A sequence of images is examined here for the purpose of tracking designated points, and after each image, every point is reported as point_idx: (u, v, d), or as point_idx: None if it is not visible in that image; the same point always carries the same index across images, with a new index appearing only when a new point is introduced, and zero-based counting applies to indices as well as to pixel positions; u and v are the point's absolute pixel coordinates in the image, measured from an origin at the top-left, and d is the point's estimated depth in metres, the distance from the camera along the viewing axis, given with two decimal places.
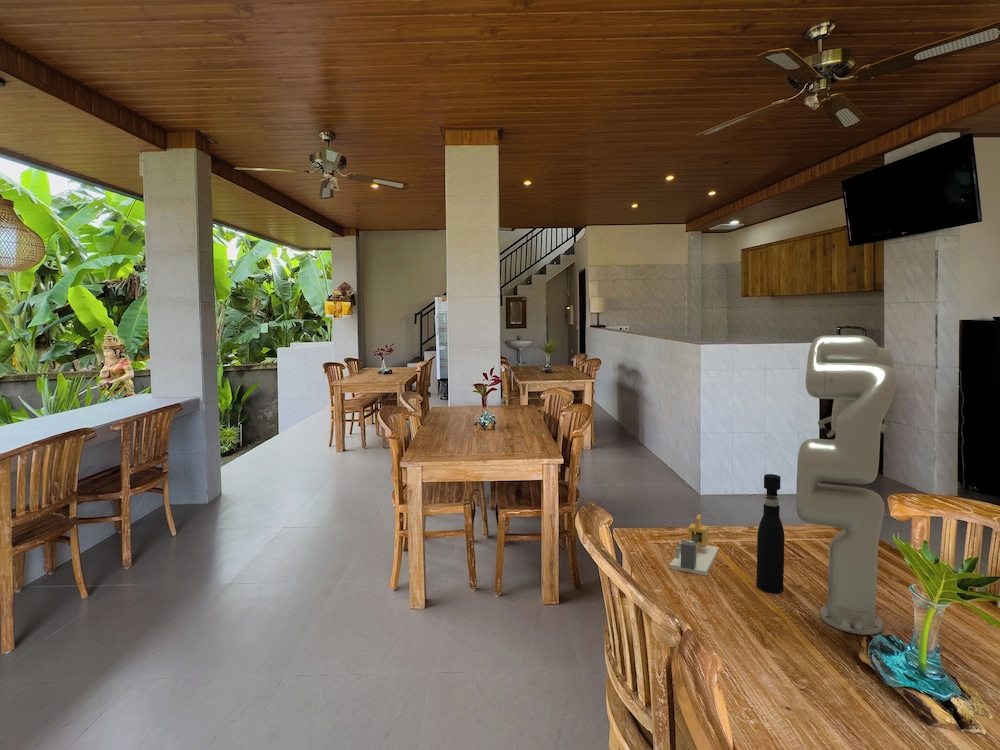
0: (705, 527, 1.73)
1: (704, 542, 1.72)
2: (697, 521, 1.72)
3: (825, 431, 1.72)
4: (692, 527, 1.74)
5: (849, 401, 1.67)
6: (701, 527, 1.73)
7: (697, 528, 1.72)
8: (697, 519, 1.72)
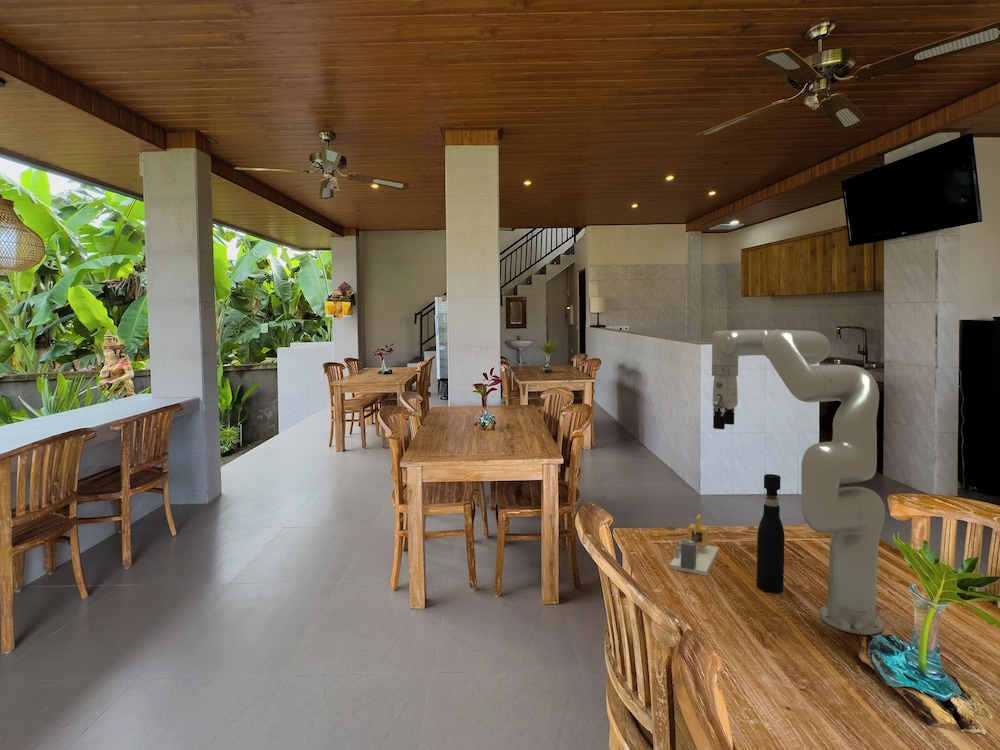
0: (705, 527, 1.73)
1: (704, 542, 1.72)
2: (697, 521, 1.72)
3: (720, 411, 1.72)
4: (692, 527, 1.74)
5: (733, 377, 1.74)
6: (701, 527, 1.73)
7: (697, 528, 1.72)
8: (697, 519, 1.72)
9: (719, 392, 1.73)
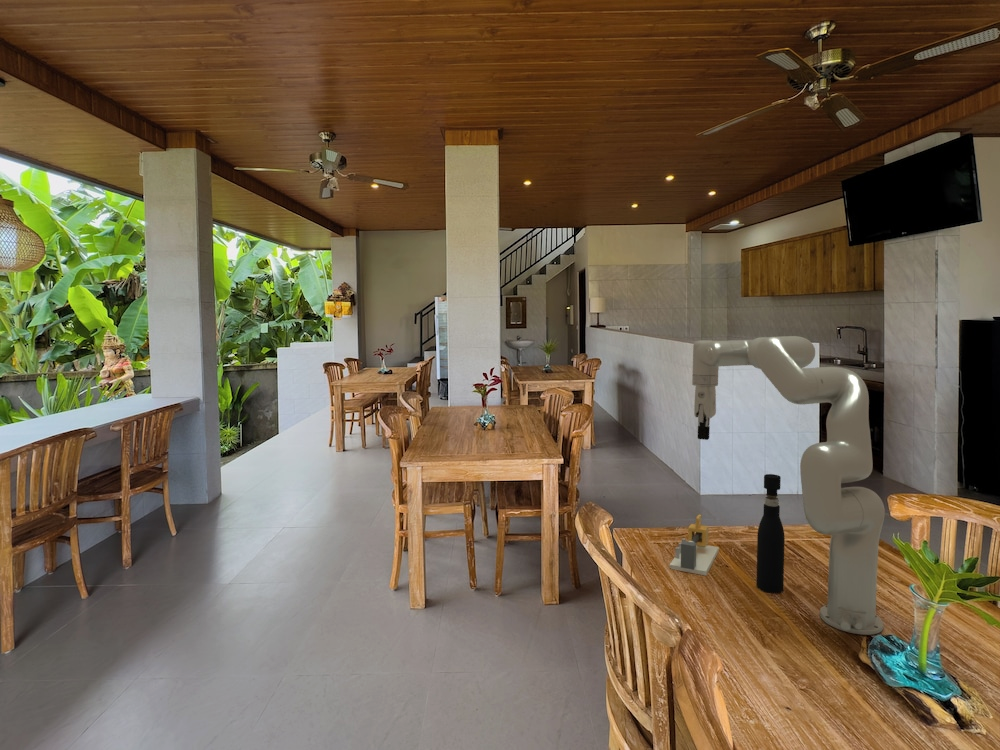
0: (705, 527, 1.73)
1: (704, 542, 1.72)
2: (697, 521, 1.72)
3: (705, 422, 1.77)
4: (692, 527, 1.74)
5: (713, 387, 1.76)
6: (701, 527, 1.73)
7: (697, 528, 1.72)
8: (697, 519, 1.72)
9: (701, 402, 1.74)
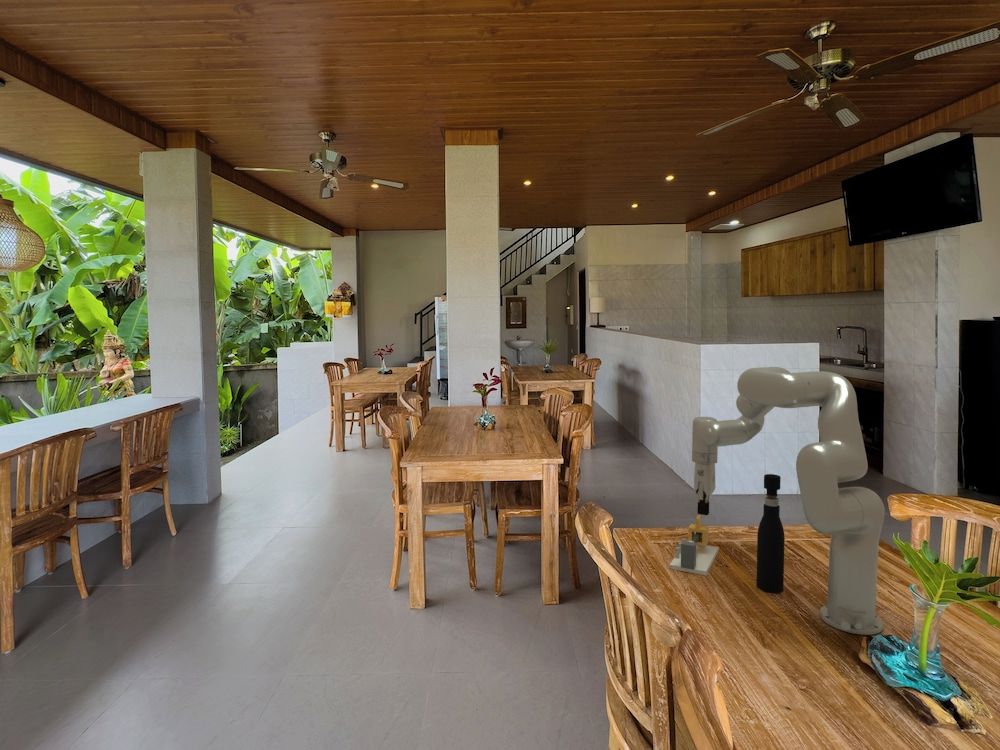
0: (705, 527, 1.73)
1: (704, 542, 1.72)
2: (697, 521, 1.72)
3: (704, 498, 1.79)
4: (692, 527, 1.74)
5: (713, 464, 1.78)
6: (701, 527, 1.73)
7: (697, 528, 1.72)
8: (697, 519, 1.72)
9: (701, 479, 1.76)
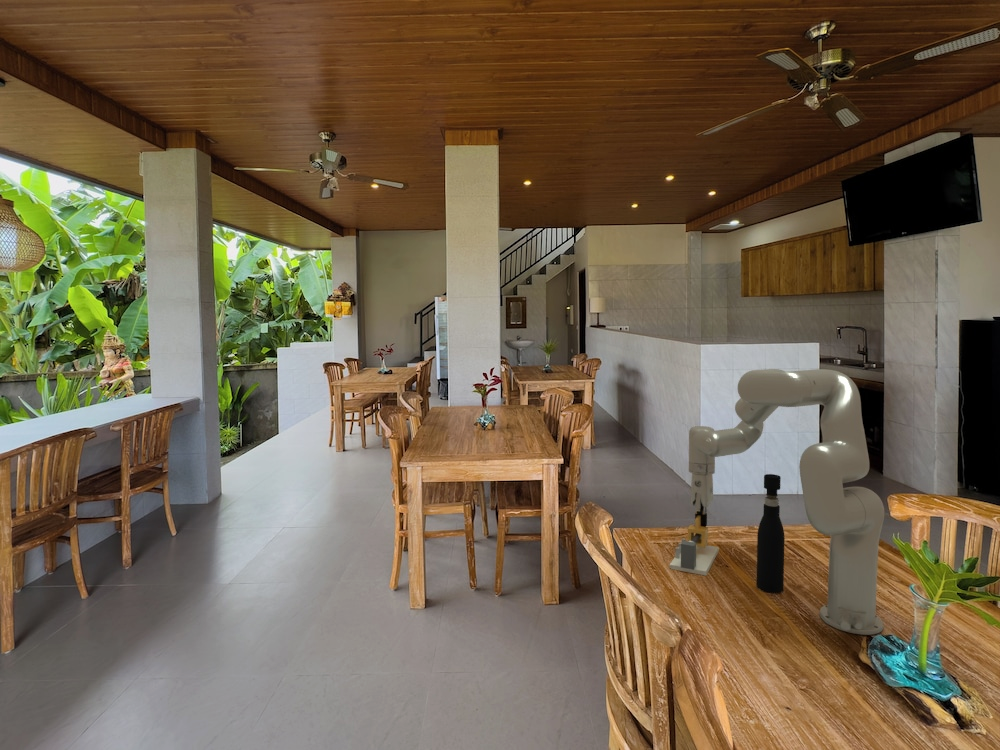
0: (704, 528, 1.72)
1: (703, 543, 1.71)
2: (696, 522, 1.71)
3: None
4: (691, 528, 1.73)
5: (710, 474, 1.74)
6: (700, 528, 1.73)
7: (696, 529, 1.71)
8: (696, 520, 1.71)
9: (698, 490, 1.72)
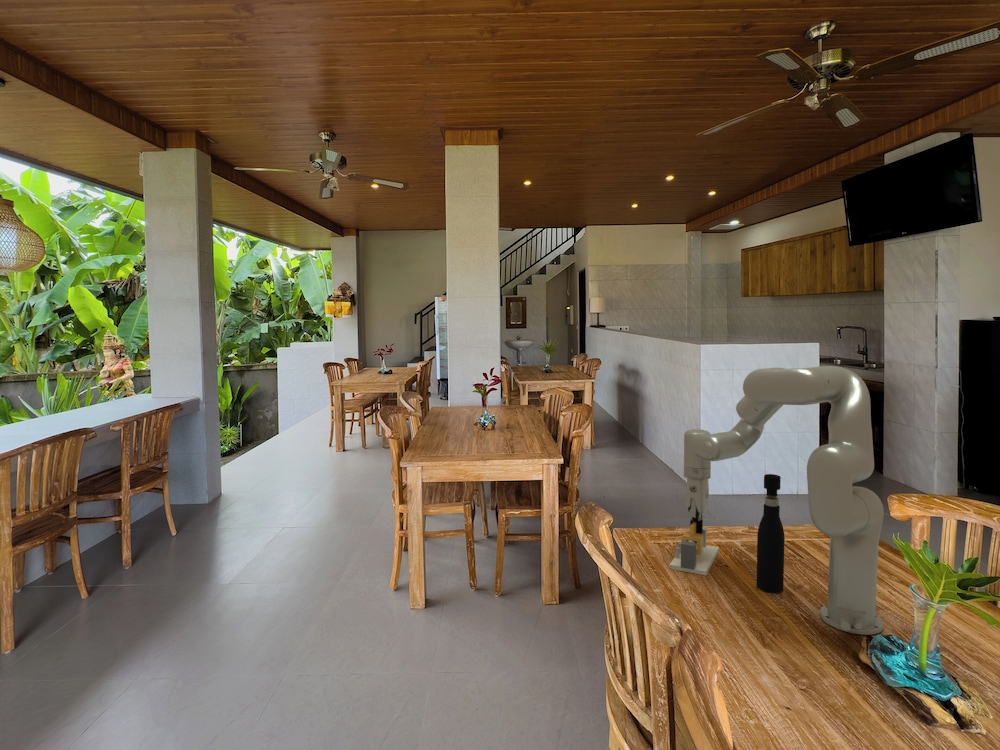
0: (700, 535, 1.67)
1: (699, 551, 1.65)
2: (691, 529, 1.65)
3: (697, 516, 1.69)
4: (686, 535, 1.67)
5: (706, 479, 1.68)
6: (696, 535, 1.67)
7: (691, 536, 1.66)
8: (691, 527, 1.65)
9: (693, 496, 1.66)
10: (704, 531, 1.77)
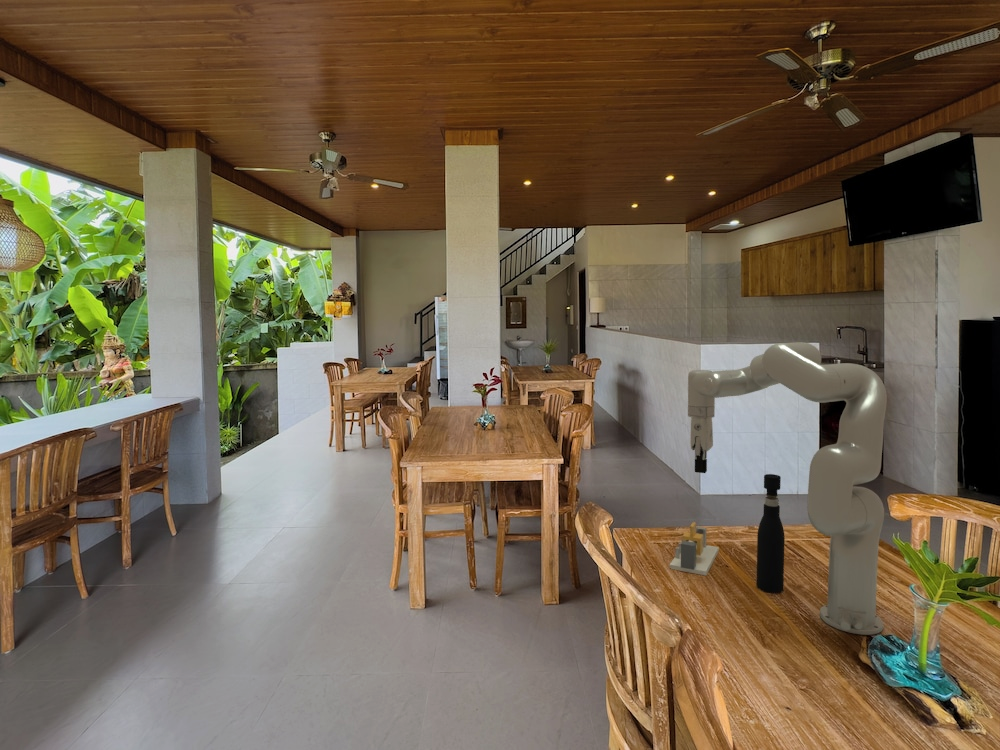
0: (700, 535, 1.67)
1: (699, 551, 1.65)
2: (691, 529, 1.65)
3: (702, 455, 1.71)
4: (686, 535, 1.67)
5: (710, 418, 1.70)
6: (696, 535, 1.67)
7: (691, 536, 1.66)
8: (691, 527, 1.65)
9: (697, 434, 1.68)
10: (704, 531, 1.77)
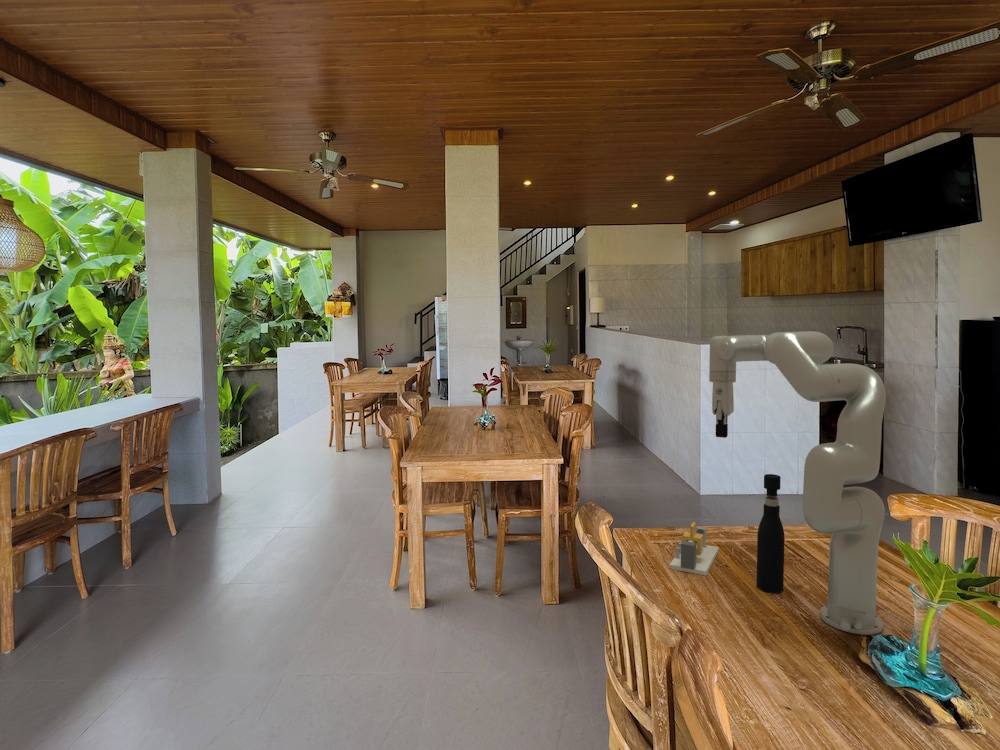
0: (700, 535, 1.67)
1: (699, 551, 1.65)
2: (691, 529, 1.65)
3: (723, 419, 1.73)
4: (686, 535, 1.67)
5: (731, 383, 1.73)
6: (696, 535, 1.67)
7: (691, 536, 1.66)
8: (691, 527, 1.65)
9: (719, 398, 1.70)
10: (704, 531, 1.77)
